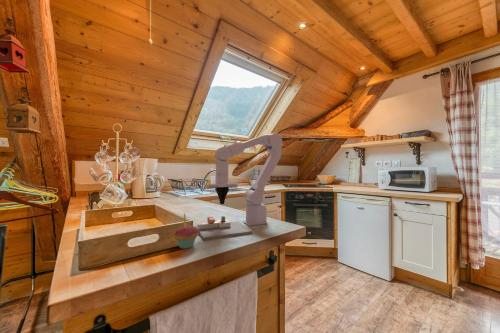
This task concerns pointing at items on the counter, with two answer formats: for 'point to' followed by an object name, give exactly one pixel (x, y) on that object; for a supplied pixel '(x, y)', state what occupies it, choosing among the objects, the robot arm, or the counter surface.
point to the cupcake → (186, 235)
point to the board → (224, 231)
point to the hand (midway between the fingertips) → (222, 203)
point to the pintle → (223, 219)
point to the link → (214, 224)
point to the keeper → (210, 219)
